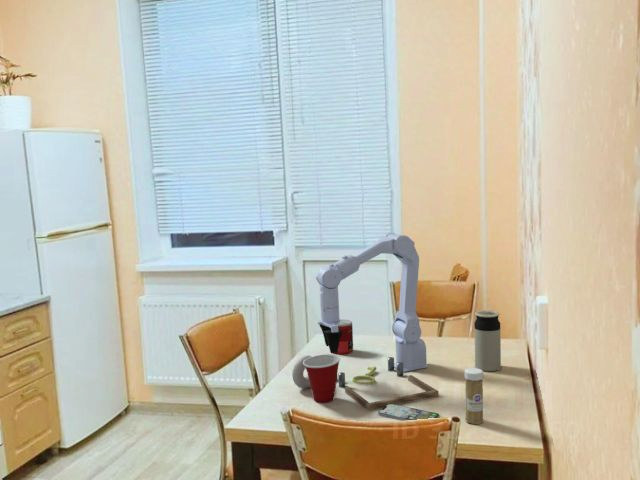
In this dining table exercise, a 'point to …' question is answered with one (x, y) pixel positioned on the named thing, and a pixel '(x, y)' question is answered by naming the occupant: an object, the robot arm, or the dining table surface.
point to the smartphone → (405, 413)
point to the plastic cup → (322, 376)
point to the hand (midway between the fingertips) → (331, 349)
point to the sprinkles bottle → (474, 395)
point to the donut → (300, 373)
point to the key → (366, 377)
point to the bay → (399, 400)
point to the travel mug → (487, 341)
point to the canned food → (345, 338)
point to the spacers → (390, 368)
